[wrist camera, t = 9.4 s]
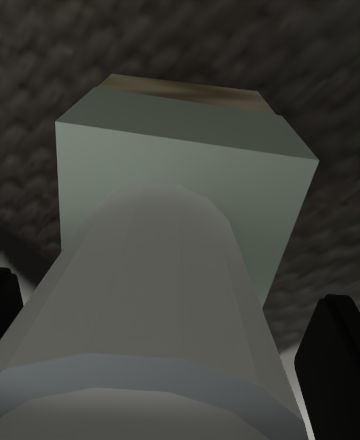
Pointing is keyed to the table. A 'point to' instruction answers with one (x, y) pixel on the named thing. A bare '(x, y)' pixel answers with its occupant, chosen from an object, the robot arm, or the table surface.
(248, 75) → the table surface
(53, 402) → the shot glass
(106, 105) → the tower top
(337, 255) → the table surface
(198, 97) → the tower base
